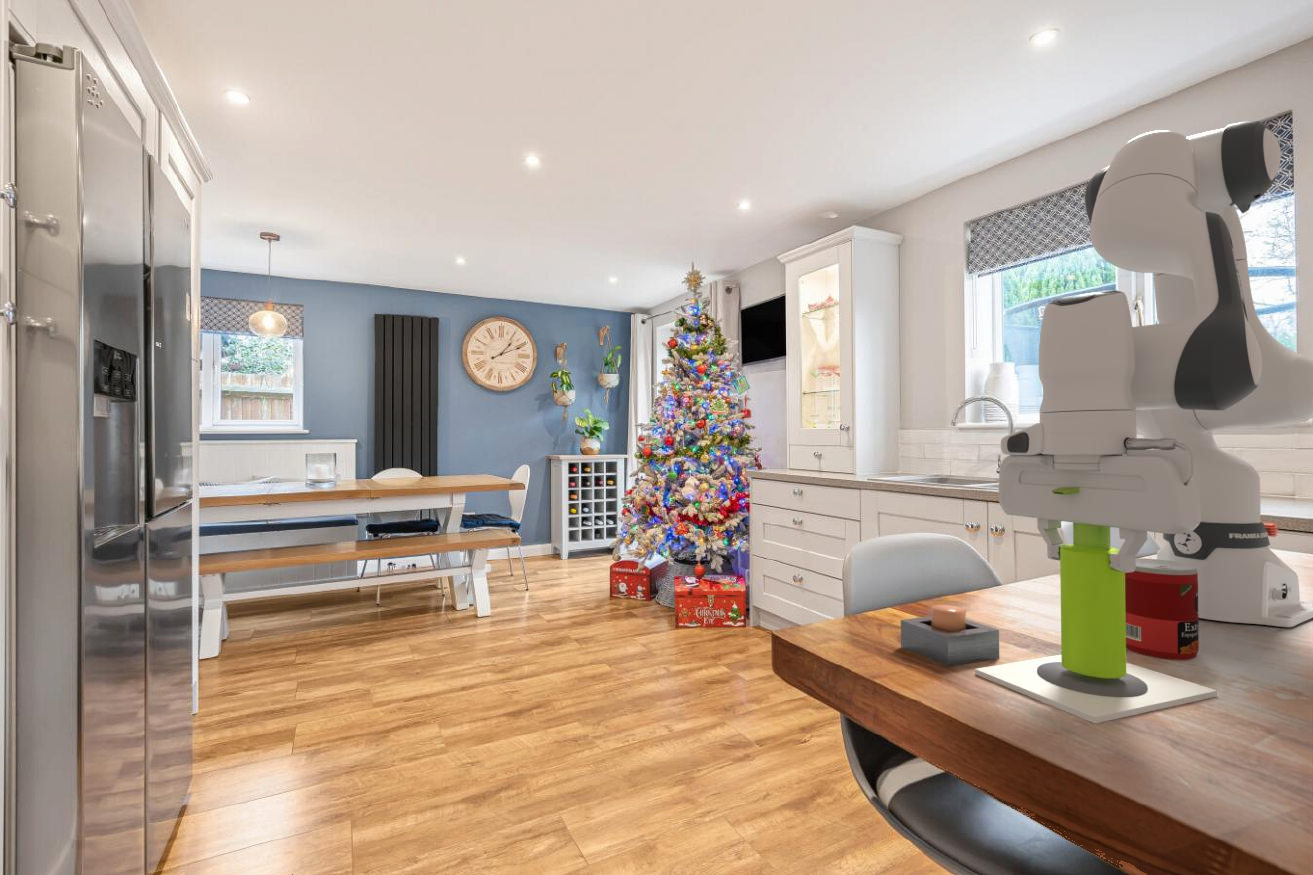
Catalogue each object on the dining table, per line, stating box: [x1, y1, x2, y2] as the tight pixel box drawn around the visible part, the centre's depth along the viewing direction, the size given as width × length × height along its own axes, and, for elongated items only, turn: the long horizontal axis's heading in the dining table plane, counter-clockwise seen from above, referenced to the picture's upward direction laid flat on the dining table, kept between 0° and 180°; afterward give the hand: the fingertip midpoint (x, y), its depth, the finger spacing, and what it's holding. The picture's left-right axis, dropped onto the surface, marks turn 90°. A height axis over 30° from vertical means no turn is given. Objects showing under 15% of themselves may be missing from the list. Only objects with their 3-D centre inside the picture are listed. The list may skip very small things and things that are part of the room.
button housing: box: [900, 615, 1000, 668], centre depth 82 cm, size 8×8×4 cm
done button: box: [930, 604, 967, 632], centre depth 82 cm, size 4×4×3 cm
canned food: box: [1125, 557, 1200, 661], centre depth 82 cm, size 8×8×11 cm
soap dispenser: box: [1051, 487, 1127, 678], centre depth 71 cm, size 6×7×20 cm
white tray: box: [974, 654, 1218, 725], centre depth 70 cm, size 18×14×1 cm
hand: (1088, 565), depth 71 cm, fingers closed on soap dispenser, 6 cm apart
